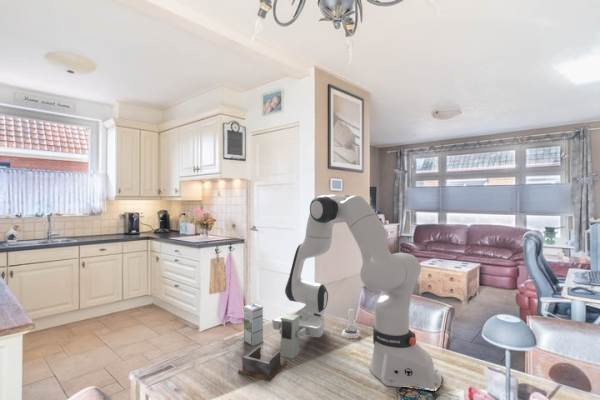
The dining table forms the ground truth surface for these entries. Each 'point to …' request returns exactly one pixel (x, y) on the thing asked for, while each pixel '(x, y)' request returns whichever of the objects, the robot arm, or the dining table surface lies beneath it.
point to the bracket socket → (261, 365)
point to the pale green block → (289, 335)
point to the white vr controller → (351, 327)
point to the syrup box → (253, 324)
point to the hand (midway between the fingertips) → (289, 333)
